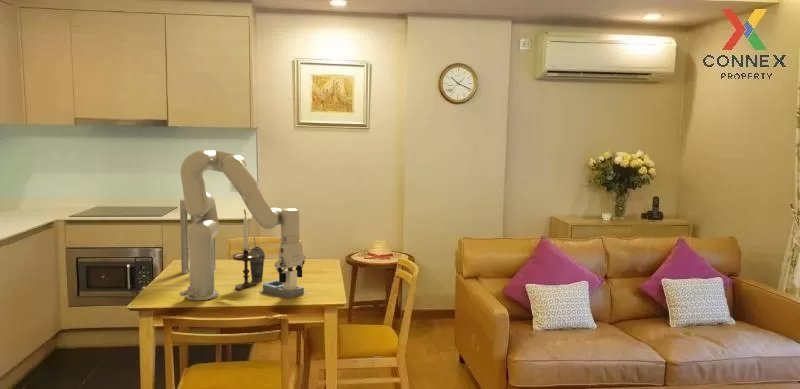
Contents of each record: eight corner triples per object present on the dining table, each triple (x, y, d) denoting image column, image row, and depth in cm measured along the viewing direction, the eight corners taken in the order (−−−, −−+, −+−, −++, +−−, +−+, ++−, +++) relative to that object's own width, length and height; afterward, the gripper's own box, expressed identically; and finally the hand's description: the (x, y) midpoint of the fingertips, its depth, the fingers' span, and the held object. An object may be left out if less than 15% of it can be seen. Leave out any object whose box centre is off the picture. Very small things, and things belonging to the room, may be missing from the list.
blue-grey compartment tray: (288, 302, 230) (288, 291, 229) (258, 294, 239) (258, 284, 238) (308, 295, 240) (308, 285, 239) (278, 288, 249) (278, 278, 248)
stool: (175, 274, 268) (173, 200, 264) (192, 266, 283) (190, 196, 279) (206, 276, 265) (204, 201, 261) (221, 268, 281) (220, 197, 276)
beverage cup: (260, 283, 256) (260, 239, 254) (245, 282, 257) (245, 238, 255) (267, 279, 263) (267, 236, 261) (253, 278, 265) (252, 235, 262)
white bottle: (290, 295, 235) (290, 267, 233) (283, 294, 237) (283, 265, 235) (296, 293, 238) (297, 265, 236) (289, 291, 240) (289, 263, 239)
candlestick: (242, 293, 241) (241, 210, 237) (228, 287, 248) (227, 207, 244) (264, 288, 249) (263, 208, 245) (250, 283, 256) (249, 205, 252)
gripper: (282, 243, 225) (282, 285, 227) (311, 236, 240) (311, 276, 242) (268, 241, 229) (269, 282, 231) (297, 234, 244) (298, 273, 246)
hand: (290, 279), depth 237 cm, fingers open, 9 cm apart
